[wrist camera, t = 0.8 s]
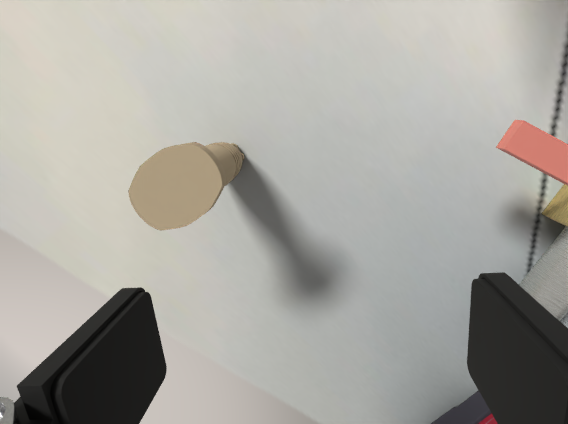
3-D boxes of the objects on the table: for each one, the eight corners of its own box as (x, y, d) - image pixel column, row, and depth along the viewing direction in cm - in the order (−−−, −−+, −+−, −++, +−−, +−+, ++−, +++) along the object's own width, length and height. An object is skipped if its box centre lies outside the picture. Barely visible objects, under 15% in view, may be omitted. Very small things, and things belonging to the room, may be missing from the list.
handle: (268, 159, 37) (236, 191, 22) (220, 193, 38) (161, 243, 24) (240, 120, 36) (188, 127, 21) (192, 156, 37) (114, 185, 23)
